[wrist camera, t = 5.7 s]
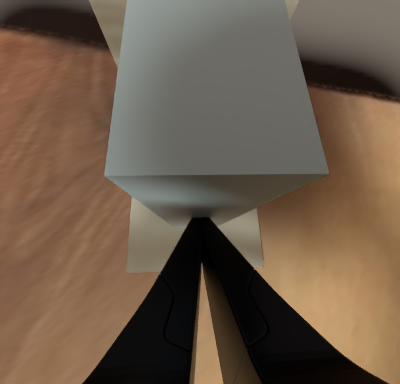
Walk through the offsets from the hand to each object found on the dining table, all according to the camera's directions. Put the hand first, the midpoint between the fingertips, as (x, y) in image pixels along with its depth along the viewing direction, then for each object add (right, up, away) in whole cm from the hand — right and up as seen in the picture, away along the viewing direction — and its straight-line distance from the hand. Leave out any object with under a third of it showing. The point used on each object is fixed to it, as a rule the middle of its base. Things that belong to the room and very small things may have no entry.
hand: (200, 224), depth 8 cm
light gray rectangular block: (0, +1, +7) cm, 7 cm away
